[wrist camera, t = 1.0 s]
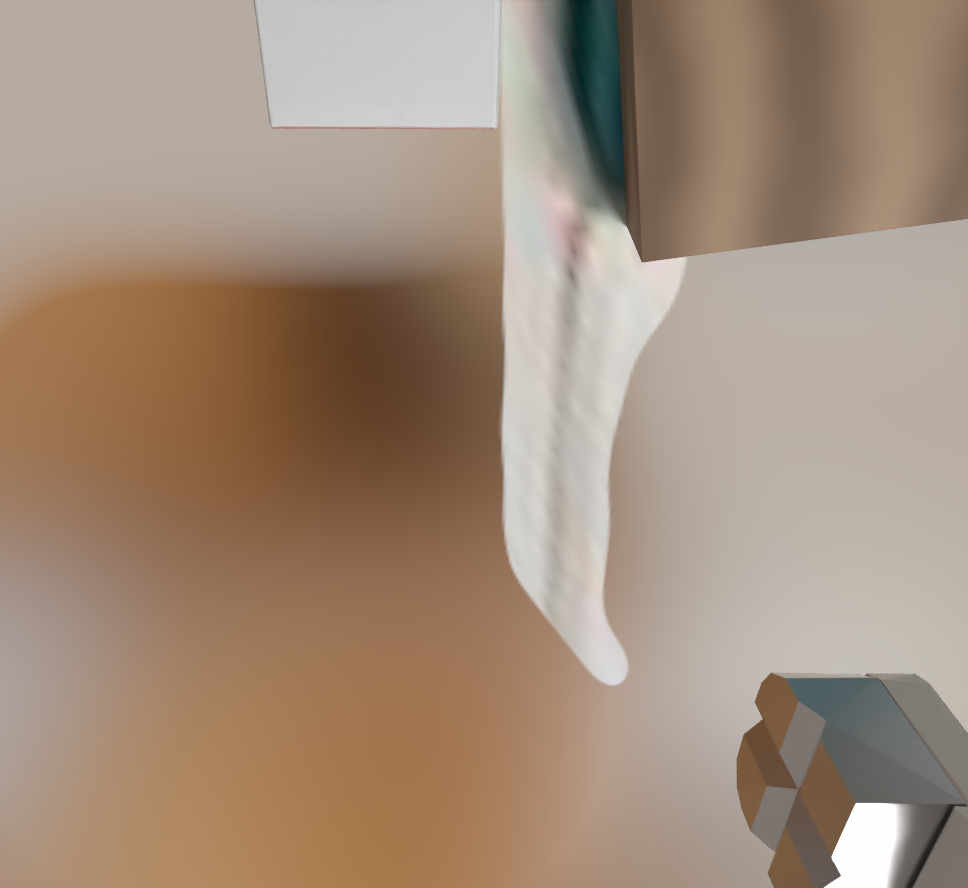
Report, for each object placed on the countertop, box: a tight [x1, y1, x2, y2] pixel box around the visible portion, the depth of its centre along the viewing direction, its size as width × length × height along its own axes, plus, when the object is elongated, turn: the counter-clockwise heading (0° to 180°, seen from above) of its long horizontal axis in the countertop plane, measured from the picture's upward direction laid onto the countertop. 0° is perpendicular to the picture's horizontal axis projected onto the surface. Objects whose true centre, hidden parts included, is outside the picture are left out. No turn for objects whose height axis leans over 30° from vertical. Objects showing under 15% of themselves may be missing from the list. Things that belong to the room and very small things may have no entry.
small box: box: [254, 0, 502, 129], centre depth 31 cm, size 8×6×10 cm
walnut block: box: [616, 0, 968, 262], centre depth 35 cm, size 14×14×5 cm
